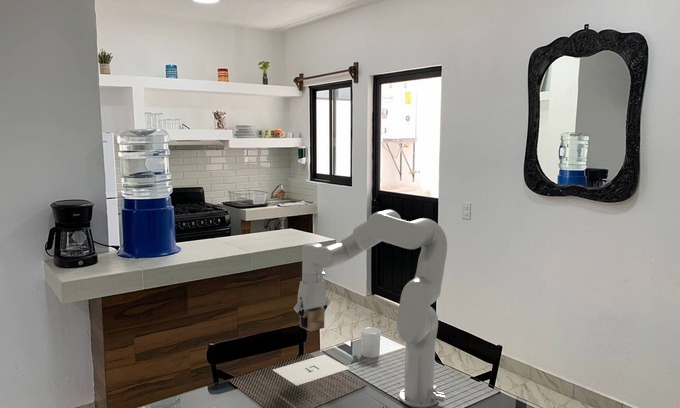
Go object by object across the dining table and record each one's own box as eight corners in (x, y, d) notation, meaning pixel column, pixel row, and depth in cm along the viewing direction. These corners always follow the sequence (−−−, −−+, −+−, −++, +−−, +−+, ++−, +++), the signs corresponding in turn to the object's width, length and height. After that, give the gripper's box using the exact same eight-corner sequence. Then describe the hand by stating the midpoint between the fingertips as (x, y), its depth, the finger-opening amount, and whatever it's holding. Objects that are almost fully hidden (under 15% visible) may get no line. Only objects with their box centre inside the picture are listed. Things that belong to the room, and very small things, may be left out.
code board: (324, 356, 208) (324, 354, 208) (350, 369, 195) (350, 368, 195) (272, 371, 193) (272, 369, 193) (296, 387, 180) (296, 385, 180)
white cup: (357, 352, 213) (358, 328, 211) (375, 350, 215) (376, 326, 214) (364, 359, 205) (365, 334, 204) (383, 357, 207) (383, 333, 206)
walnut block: (314, 323, 197) (314, 304, 196) (324, 327, 192) (324, 309, 191) (299, 326, 193) (300, 308, 192) (310, 331, 188) (310, 312, 187)
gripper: (325, 272, 199) (324, 318, 200) (286, 278, 188) (286, 327, 190) (337, 276, 193) (337, 323, 195) (298, 283, 182) (298, 333, 184)
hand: (312, 324), depth 192 cm, fingers closed on walnut block, 6 cm apart
